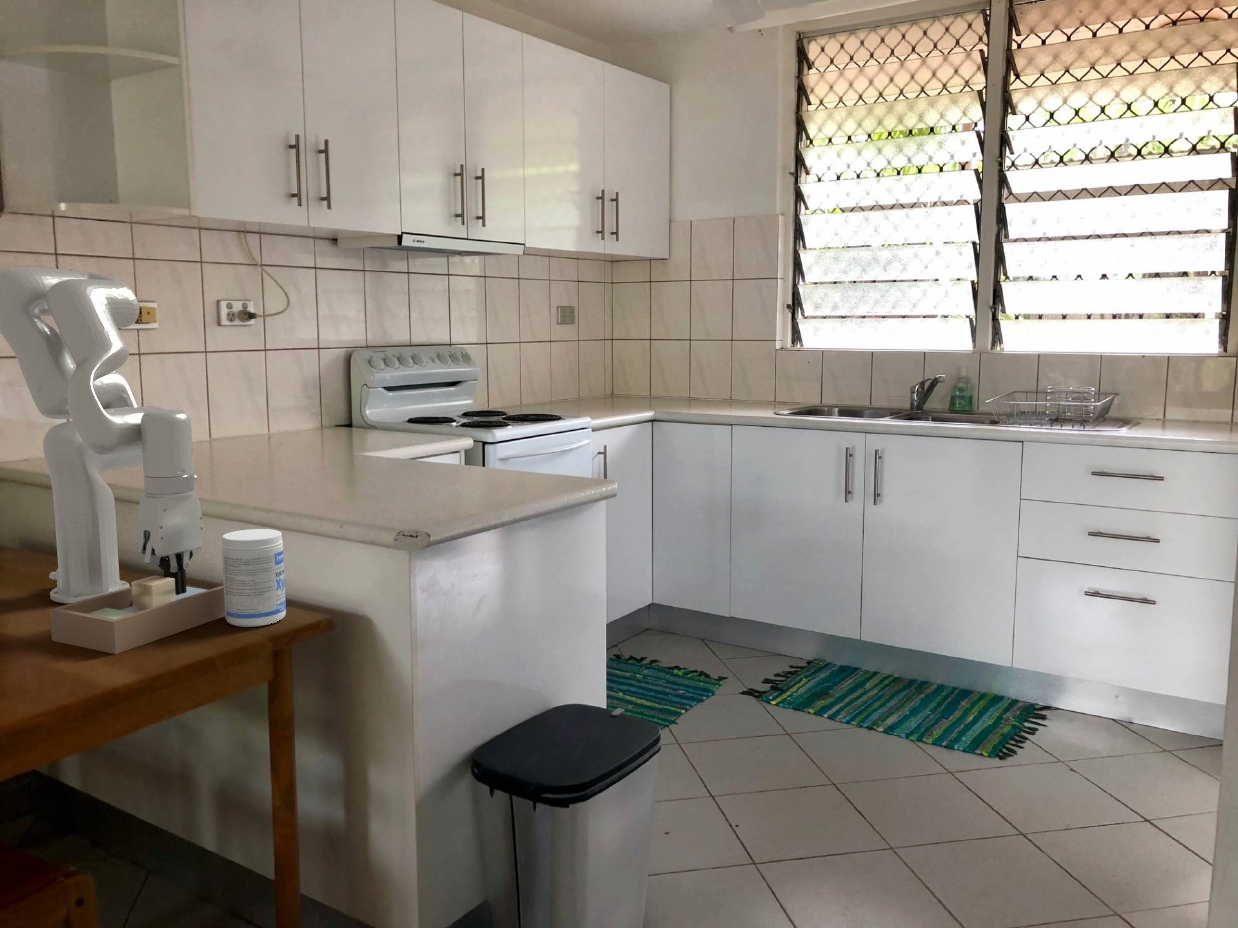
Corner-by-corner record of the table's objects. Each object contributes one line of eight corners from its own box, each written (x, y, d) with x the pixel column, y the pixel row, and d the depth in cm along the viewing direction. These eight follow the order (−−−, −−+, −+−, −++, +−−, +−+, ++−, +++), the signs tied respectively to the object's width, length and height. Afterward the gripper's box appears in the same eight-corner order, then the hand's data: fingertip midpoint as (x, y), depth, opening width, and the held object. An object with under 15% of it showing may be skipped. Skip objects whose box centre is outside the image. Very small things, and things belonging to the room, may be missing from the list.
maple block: (133, 608, 157) (131, 581, 156) (155, 601, 161) (154, 575, 160) (153, 612, 155) (152, 585, 155) (176, 604, 159) (174, 578, 159)
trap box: (51, 640, 150) (49, 609, 149) (177, 601, 172) (176, 573, 171) (116, 654, 144) (114, 621, 144) (237, 611, 166) (236, 583, 166)
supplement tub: (292, 622, 161) (289, 536, 159) (232, 632, 155) (228, 542, 153) (277, 608, 169) (274, 525, 167) (219, 616, 163) (215, 531, 161)
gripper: (188, 477, 168) (194, 580, 170) (114, 490, 154) (121, 601, 157) (221, 480, 165) (226, 584, 168) (148, 493, 151) (155, 607, 154)
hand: (175, 592), depth 162 cm, fingers closed
